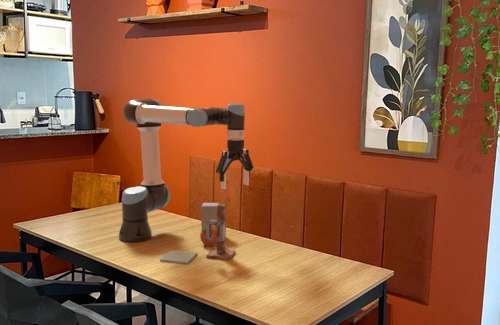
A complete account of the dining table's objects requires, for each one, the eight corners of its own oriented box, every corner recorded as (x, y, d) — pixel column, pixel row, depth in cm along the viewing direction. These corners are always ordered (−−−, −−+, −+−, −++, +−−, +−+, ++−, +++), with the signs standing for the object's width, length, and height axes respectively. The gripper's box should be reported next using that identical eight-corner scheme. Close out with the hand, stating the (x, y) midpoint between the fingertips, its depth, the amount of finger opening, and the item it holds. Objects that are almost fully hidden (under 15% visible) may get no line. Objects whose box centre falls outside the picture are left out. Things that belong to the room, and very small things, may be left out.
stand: (200, 263, 205) (200, 211, 202) (213, 250, 222) (213, 201, 219) (224, 266, 203) (224, 213, 200) (235, 252, 220) (236, 203, 216)
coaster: (159, 261, 207) (159, 259, 207) (171, 252, 219) (171, 250, 219) (187, 263, 205) (187, 262, 205) (197, 254, 216) (197, 252, 216)
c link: (206, 239, 206) (206, 220, 205) (208, 237, 209) (208, 218, 208) (222, 241, 205) (223, 222, 203) (224, 239, 208) (225, 220, 206)
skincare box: (220, 233, 247) (220, 202, 245) (217, 238, 240) (218, 205, 238) (203, 233, 248) (203, 201, 246) (200, 237, 241) (200, 205, 239)
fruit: (223, 244, 230) (223, 223, 229) (208, 249, 223) (208, 227, 222) (210, 240, 236) (211, 220, 234) (195, 245, 229) (195, 223, 228)
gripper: (219, 141, 210) (218, 191, 214) (261, 138, 228) (260, 184, 231) (208, 140, 216) (207, 188, 219) (250, 136, 233) (249, 182, 236)
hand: (234, 186), depth 225 cm, fingers open, 13 cm apart
